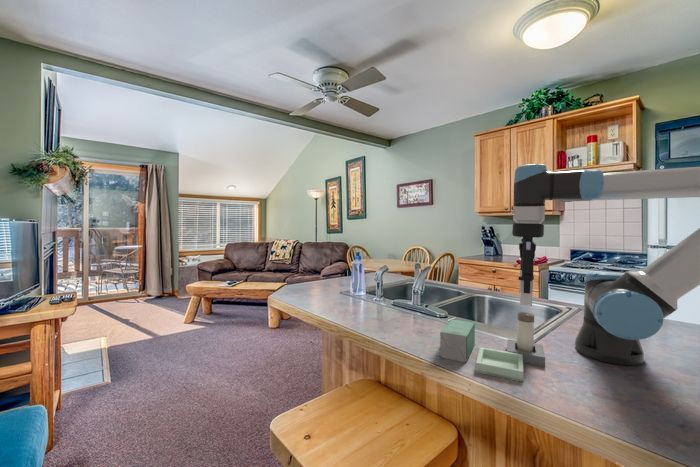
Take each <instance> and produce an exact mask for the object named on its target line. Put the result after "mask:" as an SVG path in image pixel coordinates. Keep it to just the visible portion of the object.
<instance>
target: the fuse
mask: <svg viewBox="0 0 700 467" xmlns="http://www.w3.org/2000/svg"><path fill="white" fill-rule="evenodd" d="M516 334H517V335H516V336H517V339H516V341H517V350H521V351H527V352H533V343H535V342H534V341H535V340H534V338H535V337H534V336H535V314H534V313H530V312H527V311H526V312H525V311H524V312H523V311H521V312H518V313H517V333H516Z"/></svg>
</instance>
